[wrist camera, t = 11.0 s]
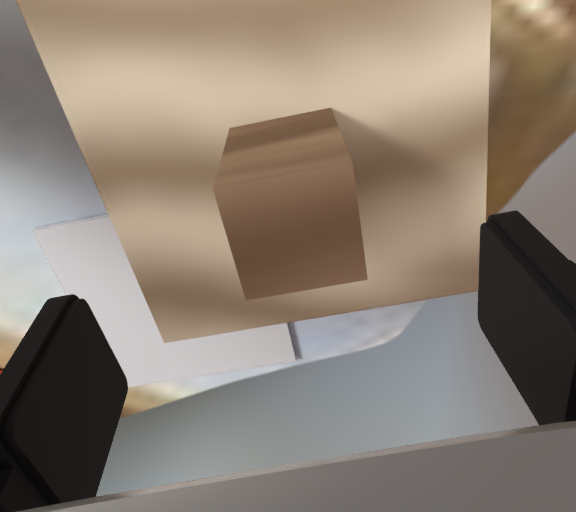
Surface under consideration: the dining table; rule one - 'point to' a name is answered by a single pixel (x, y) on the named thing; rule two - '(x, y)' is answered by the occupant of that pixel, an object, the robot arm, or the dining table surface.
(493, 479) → the robot arm
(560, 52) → the dining table surface
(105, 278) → the mat
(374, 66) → the lid
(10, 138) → the dining table surface
